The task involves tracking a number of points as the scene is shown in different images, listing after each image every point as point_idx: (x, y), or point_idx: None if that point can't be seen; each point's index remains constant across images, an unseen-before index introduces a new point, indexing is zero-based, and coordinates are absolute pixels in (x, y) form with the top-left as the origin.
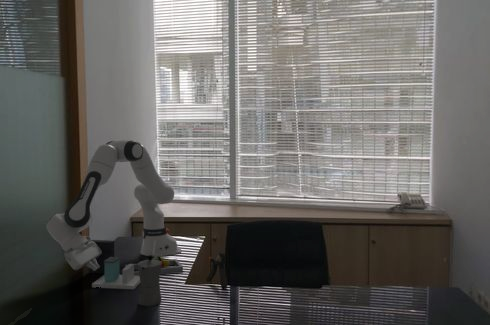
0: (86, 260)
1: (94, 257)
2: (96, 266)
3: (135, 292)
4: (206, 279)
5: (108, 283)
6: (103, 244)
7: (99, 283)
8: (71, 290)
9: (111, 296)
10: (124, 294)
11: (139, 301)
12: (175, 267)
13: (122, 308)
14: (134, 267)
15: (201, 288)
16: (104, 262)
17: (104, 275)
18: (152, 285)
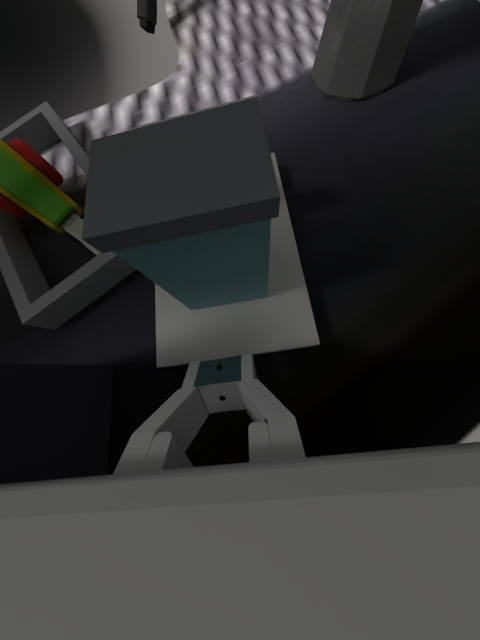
0: (439, 479)
1: (118, 474)
2: (232, 365)
3: (298, 148)
4: (150, 20)
5: (284, 262)
6: None
7: (301, 306)
8: (402, 435)
9: (374, 198)
10: (332, 168)
11: (399, 66)
12: (57, 116)
13: (454, 103)
14: (37, 286)
15: (203, 26)
16: (276, 206)
17: (267, 282)
18: None
